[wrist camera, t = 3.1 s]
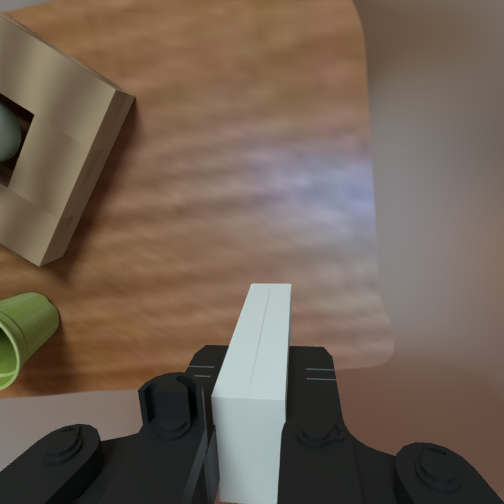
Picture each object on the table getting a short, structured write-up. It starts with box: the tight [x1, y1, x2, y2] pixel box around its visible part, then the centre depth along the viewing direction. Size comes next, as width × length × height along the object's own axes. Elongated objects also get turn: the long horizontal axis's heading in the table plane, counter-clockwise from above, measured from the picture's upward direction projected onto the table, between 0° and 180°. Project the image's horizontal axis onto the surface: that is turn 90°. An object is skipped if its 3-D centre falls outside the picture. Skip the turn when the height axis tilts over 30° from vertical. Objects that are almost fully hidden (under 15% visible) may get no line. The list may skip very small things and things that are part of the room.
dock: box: [0, 11, 135, 267], centre depth 36 cm, size 20×20×4 cm
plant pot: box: [0, 292, 59, 390], centre depth 39 cm, size 9×9×9 cm
